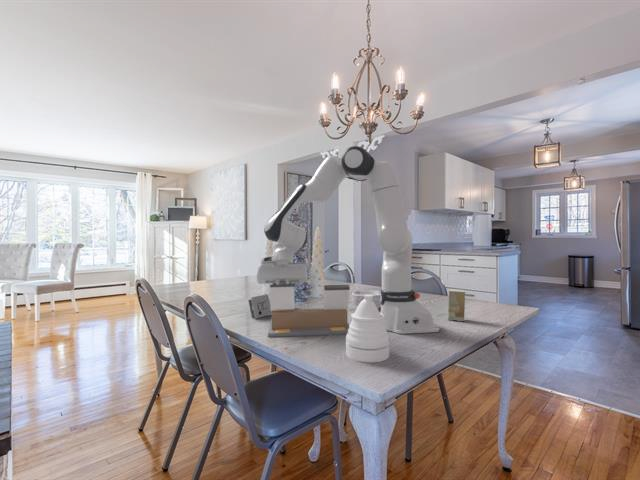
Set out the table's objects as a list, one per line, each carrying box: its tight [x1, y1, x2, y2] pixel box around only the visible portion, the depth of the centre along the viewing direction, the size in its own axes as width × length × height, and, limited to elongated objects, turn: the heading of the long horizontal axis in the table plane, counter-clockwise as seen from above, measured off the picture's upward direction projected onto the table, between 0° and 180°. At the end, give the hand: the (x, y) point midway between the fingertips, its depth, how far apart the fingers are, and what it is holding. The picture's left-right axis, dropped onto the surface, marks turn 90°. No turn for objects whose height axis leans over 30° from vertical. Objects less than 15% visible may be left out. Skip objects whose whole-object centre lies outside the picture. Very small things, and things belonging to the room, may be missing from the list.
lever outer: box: [269, 283, 296, 311], centre depth 125 cm, size 9×2×9 cm, turn 96°
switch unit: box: [267, 307, 350, 338], centre depth 124 cm, size 30×14×7 cm, turn 96°
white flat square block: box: [323, 284, 351, 310], centre depth 123 cm, size 9×2×9 cm, turn 96°
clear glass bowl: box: [351, 289, 381, 310], centre depth 156 cm, size 15×15×8 cm
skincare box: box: [447, 288, 466, 322], centre depth 136 cm, size 6×4×12 cm
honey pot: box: [345, 295, 390, 363], centre depth 99 cm, size 13×13×18 cm
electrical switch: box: [248, 294, 272, 320], centre depth 146 cm, size 9×5×9 cm, turn 141°
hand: (282, 290), depth 128 cm, fingers closed
